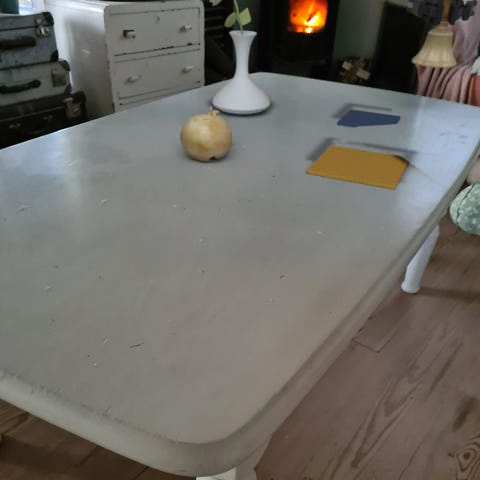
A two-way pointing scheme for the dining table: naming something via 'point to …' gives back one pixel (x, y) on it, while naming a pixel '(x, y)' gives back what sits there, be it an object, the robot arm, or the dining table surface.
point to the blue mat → (367, 119)
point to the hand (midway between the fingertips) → (447, 15)
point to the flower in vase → (240, 73)
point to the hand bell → (438, 44)
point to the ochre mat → (360, 166)
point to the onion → (206, 136)
